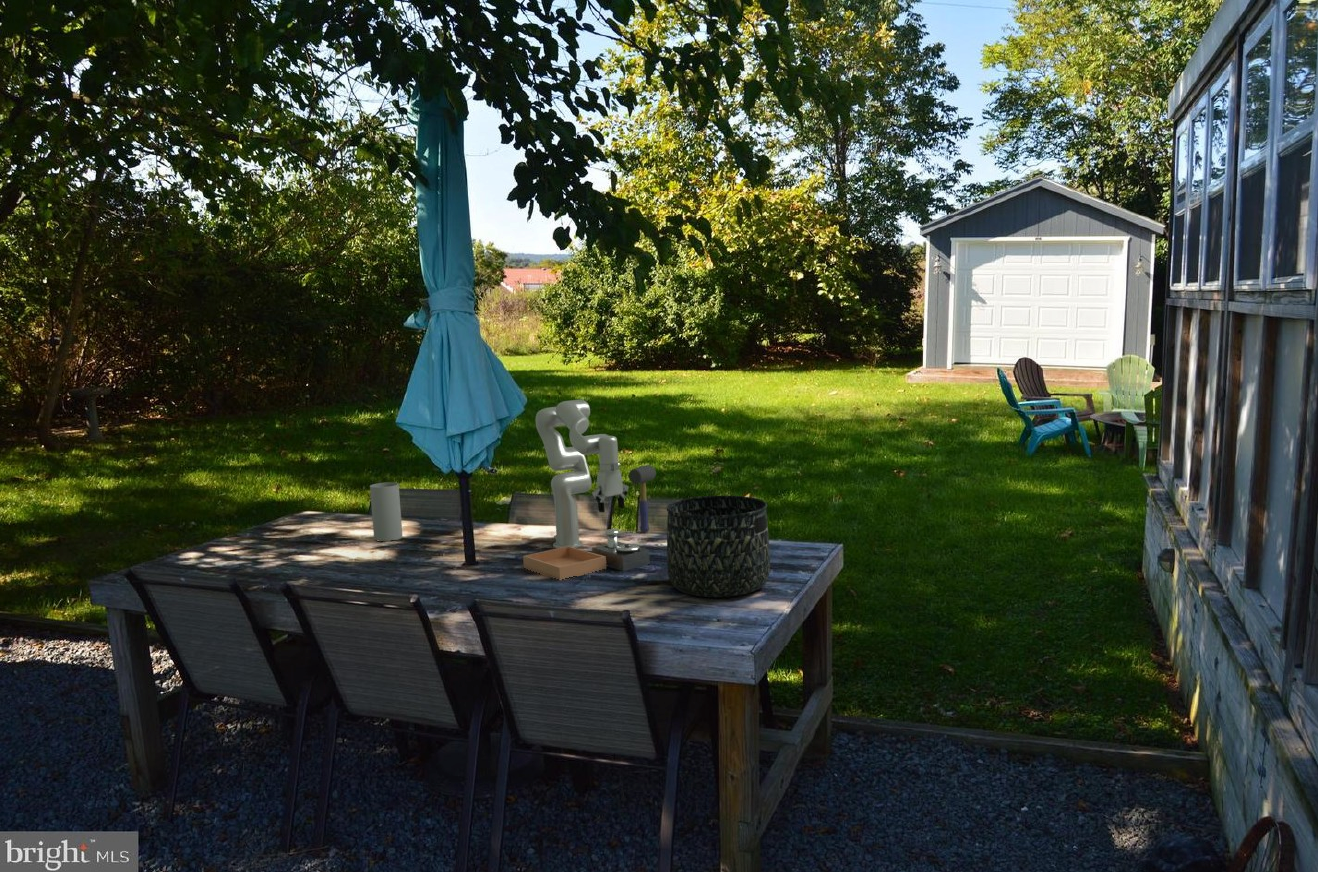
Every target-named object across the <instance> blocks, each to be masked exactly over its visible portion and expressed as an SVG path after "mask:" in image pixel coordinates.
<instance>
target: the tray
mask: <svg viewBox="0 0 1318 872" xmlns="http://www.w3.org/2000/svg"><path fill="white" fill-rule="evenodd" d="M522 559H523V569H524V568H526V569H525V570H527V569H528V570H527V571H530V570H531V571H530V572H533V571H534V572H533V573H536V572H537V573H536V574H539V573H540V574H539V575H543V576H545V577H548V576H550V577H549V578H551V577H553V578H552V579H554V578H556V579H555V580H557V579H559V580H558V581H563V580H562V579H564V580H566V579H565V578H569V577H573V576H577V577H579V576H584V574H585V575H588V573H589V574H592V572H593V573H596V572H595V571H597V572H600V571H599V570H601V571H603V570H602V569H605V570H607V566H606V557H605V556H602V555H598V554H595V553H592V552H590V551H589V550H588V551H587V550H584V549H580V548H574V547H570V546H566V547H562V548H553V549H548V550H544V551H540V552H536V553H530V554H526V555H523V557H522ZM573 578H574V577H573ZM569 579H570V578H569Z"/></svg>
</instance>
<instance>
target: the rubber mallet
mask: <svg viewBox="0 0 1318 872" xmlns="http://www.w3.org/2000/svg"><path fill="white" fill-rule="evenodd" d="M656 476H657V471H656V468H655V467H654V466H653V465H651V464H647V465H641V466H638V467H635V468H632V469H631V470H630V471H629V473H628V479H629V481H630V482H631V483H632V484H634V485H639V484H640V485H639V486H640V487H639V489H640V490H639V491H640V501H639V514H640V527H639V528H640V531H641V533H645V534H647V533H649V531H650V526H649V504H648V501H647V485H646V483H649V481H652V480H654V479H655V478H656Z"/></svg>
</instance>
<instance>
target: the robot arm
mask: <svg viewBox="0 0 1318 872" xmlns="http://www.w3.org/2000/svg"><path fill="white" fill-rule="evenodd" d="M590 415H591V409H590V404H589V403H588V402H587V401H585V400H583V399H573V400H564V401H561V402H560V403H558V404H557V405H556V406H551V407H545V408H542V409H540V410H538V411H537V412H536V416H535V426H536V430H537V433H538V434H539V436H540V438H541V440H542V443H543V445H544V446H543V447H544V451H545V454H546V458H547V460H548V464H549V467H550V469H551V470H552V471H554V472H560V471H561V472H560V473H557V474H555V475H554V476H553V477H552V479H551V481H550V486H551V487H550V488H551V491H552V495H553V502H554V514H555V515H554V516H555V533H556V534H555V535H554V536H553V539H555V542H554V543H553V544H552V545H553V549H557V548H562V547H566V546H570V547H574V548H577V549H579V548H581V547H583V545H584V543H583V541H582V540H580V533H579V516H578V514H579V513H578V503H577V502H576V500H575V499H574V497H573V496H572V495H575V494H576V495H577V494H582V493H586V492H589V491H590V490H591V488H592V478H591V473H590V468H589V467H588V462H587V459H586V456H589V455H594V454H598V459H599V462H598V463H599V471H598V472H597V477H596V488H595V489H594V490H593V491H592V492H591V494H592V496H593V499H594V500H595V501H596V503H597V507H598V508H597V509H598V512H599V513H605V508H606V507H605V502H604V501H605V498H609V497H614V496H618V498H617V505H618V506H617V507H618V508H619V509H621V510H622V509H625V498H626V496H627V494H628V491H629V487H630V486H629V485H627V484H625V483H624V482H623V478H622V473H621V469H620V468H619V467H620V466H621V465H622V464H621V463H620V462H619V448H618V439H617V437H616V436H614V435H609V434H607V433H599V434H598V433H597V434H590V435H582V434H584V433H585V432H586V431H587V430H588V428H589V424H590V422H589V416H590ZM565 426H566V428H568V430H569V433H568V434H569V441H570V444H571V445H572V446H569V447H567V446H566V445H565V441H564V438H563V436H562V434H561V433H560V432H559V431H558V430H556V429H555V428H556V427H565ZM568 470H573V471H568ZM562 471H567V472H562Z"/></svg>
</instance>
